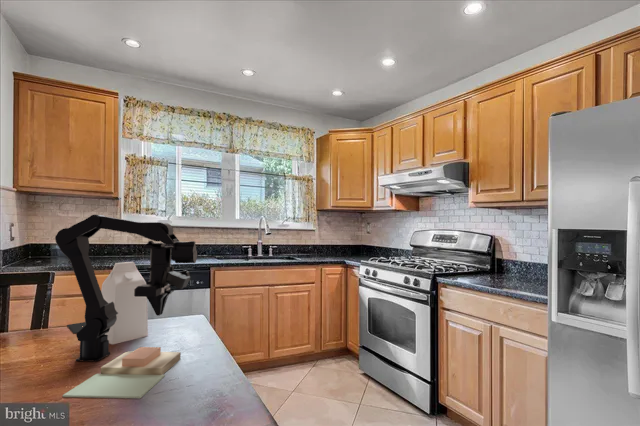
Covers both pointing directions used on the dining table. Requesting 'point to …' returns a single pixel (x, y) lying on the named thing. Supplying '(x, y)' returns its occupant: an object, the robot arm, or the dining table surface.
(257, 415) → the dining table surface
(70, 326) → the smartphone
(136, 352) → the tile
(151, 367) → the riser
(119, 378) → the mat
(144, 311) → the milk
